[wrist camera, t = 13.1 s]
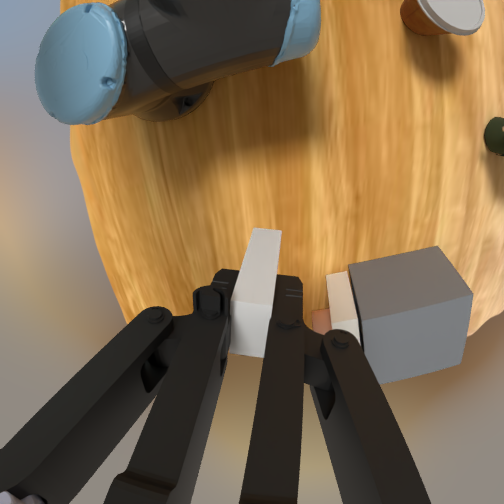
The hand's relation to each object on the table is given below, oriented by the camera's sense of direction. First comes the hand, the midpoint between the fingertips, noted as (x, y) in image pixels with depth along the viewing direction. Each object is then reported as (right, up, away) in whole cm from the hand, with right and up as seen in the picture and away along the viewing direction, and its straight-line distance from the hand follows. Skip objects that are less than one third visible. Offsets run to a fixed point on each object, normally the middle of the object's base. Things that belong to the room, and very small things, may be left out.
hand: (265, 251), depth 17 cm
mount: (+24, -7, +33) cm, 42 cm away
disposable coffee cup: (+23, +34, +13) cm, 43 cm away
